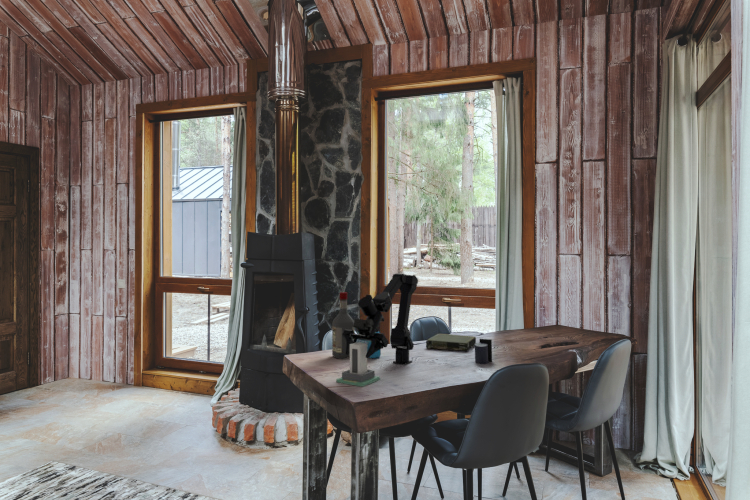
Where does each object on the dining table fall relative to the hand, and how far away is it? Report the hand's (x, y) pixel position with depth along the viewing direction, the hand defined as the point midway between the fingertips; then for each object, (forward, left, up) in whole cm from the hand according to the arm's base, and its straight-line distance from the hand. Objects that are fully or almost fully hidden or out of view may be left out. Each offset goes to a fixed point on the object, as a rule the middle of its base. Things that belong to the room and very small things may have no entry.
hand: (356, 356), depth 186 cm
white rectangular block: (-1, 0, -9) cm, 9 cm away
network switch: (-81, -1, -10) cm, 82 cm away
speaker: (-57, +27, -10) cm, 64 cm away
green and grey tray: (-1, 0, -10) cm, 10 cm away
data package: (-38, -22, -10) cm, 45 cm away
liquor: (-30, -31, -10) cm, 45 cm away
